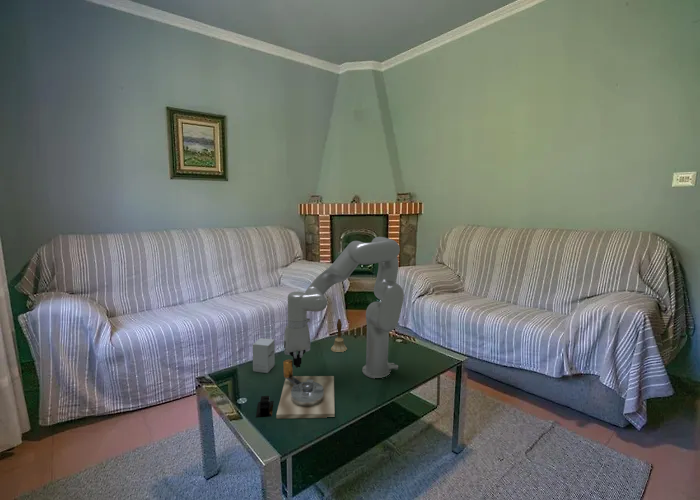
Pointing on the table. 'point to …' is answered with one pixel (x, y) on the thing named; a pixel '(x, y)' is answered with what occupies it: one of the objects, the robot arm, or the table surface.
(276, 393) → the table surface
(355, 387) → the table surface
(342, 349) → the hand bell
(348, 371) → the table surface
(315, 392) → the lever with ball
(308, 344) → the robot arm
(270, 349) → the supplement box
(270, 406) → the black stand with base
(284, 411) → the birch board
